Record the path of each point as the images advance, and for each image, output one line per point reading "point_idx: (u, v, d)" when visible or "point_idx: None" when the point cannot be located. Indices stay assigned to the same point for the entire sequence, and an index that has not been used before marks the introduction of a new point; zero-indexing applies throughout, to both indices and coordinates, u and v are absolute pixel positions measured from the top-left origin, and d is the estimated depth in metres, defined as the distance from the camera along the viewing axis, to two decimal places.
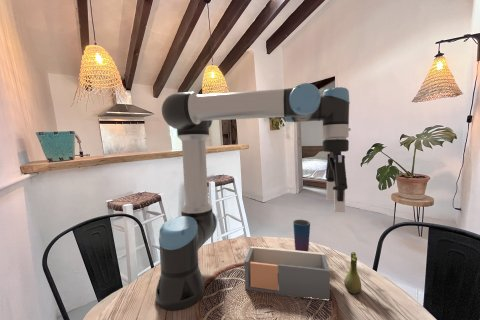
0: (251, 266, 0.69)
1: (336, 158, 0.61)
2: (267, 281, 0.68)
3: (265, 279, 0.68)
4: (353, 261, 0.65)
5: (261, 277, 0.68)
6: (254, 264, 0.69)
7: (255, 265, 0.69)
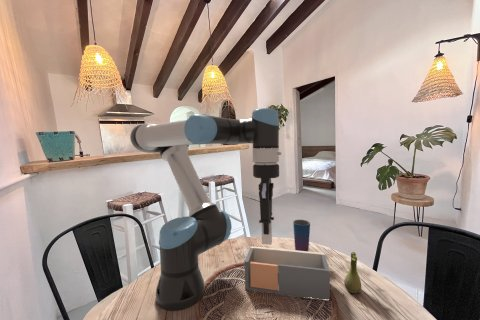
0: (251, 266, 0.69)
1: (260, 195, 0.56)
2: (267, 281, 0.68)
3: (265, 279, 0.68)
4: (353, 261, 0.65)
5: (261, 277, 0.68)
6: (254, 264, 0.69)
7: (255, 265, 0.69)
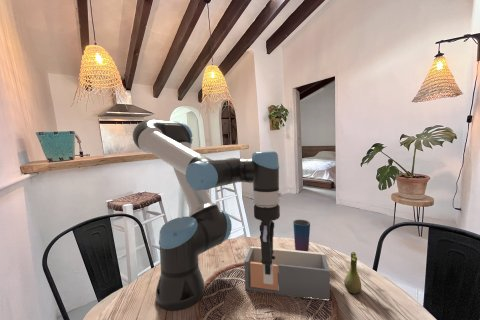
0: (251, 266, 0.69)
1: (261, 239, 0.57)
2: None
3: None
4: (353, 261, 0.65)
5: (261, 277, 0.68)
6: (254, 264, 0.69)
7: (255, 265, 0.69)
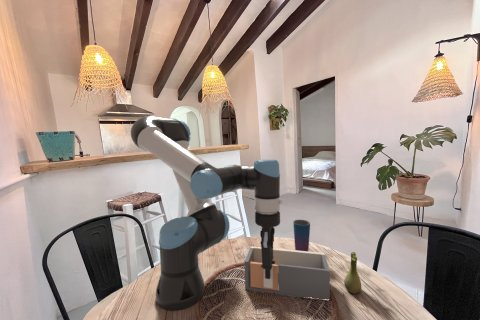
0: (251, 266, 0.69)
1: (261, 245, 0.59)
2: None
3: None
4: (353, 261, 0.65)
5: (261, 276, 0.68)
6: (254, 264, 0.69)
7: (255, 265, 0.69)
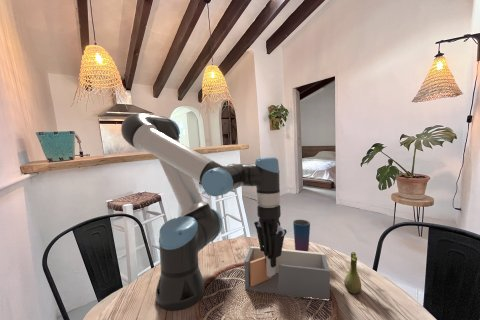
0: (252, 265, 0.69)
1: (281, 235, 0.64)
2: (264, 273, 0.72)
3: (263, 272, 0.72)
4: (353, 261, 0.65)
5: (260, 272, 0.71)
6: (254, 262, 0.70)
7: (255, 263, 0.70)
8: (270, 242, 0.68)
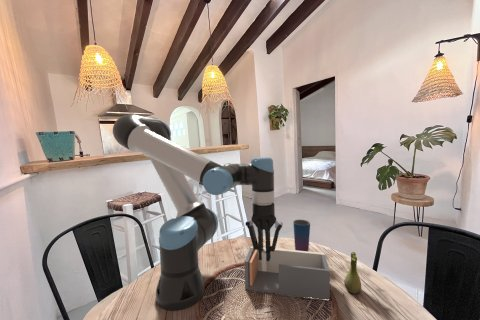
0: (252, 265, 0.70)
1: (280, 228, 0.71)
2: (255, 269, 0.75)
3: (255, 268, 0.74)
4: (353, 261, 0.65)
5: (254, 269, 0.73)
6: (252, 261, 0.71)
7: (252, 261, 0.71)
8: (267, 237, 0.72)
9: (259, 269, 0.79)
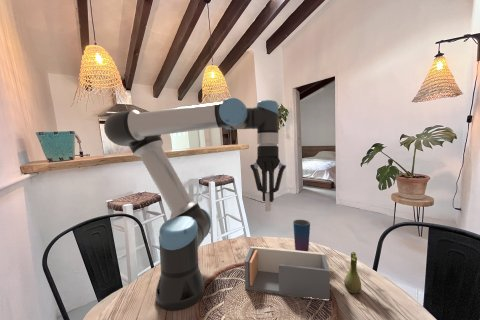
0: (252, 265, 0.70)
1: (284, 168, 0.73)
2: (255, 269, 0.75)
3: (255, 268, 0.74)
4: (353, 261, 0.65)
5: (254, 269, 0.73)
6: (252, 261, 0.71)
7: (252, 261, 0.71)
8: (271, 178, 0.75)
9: (259, 269, 0.79)
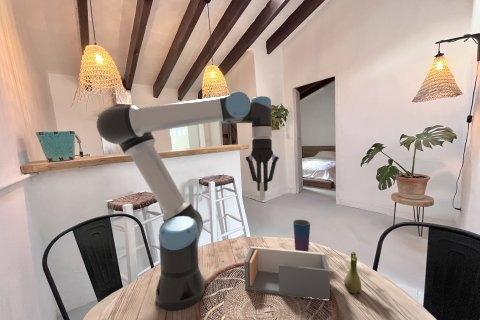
0: (252, 265, 0.70)
1: (277, 159, 0.79)
2: (255, 269, 0.75)
3: (255, 268, 0.74)
4: (353, 261, 0.65)
5: (254, 269, 0.73)
6: (252, 261, 0.71)
7: (252, 261, 0.71)
8: (265, 169, 0.81)
9: (259, 269, 0.79)
